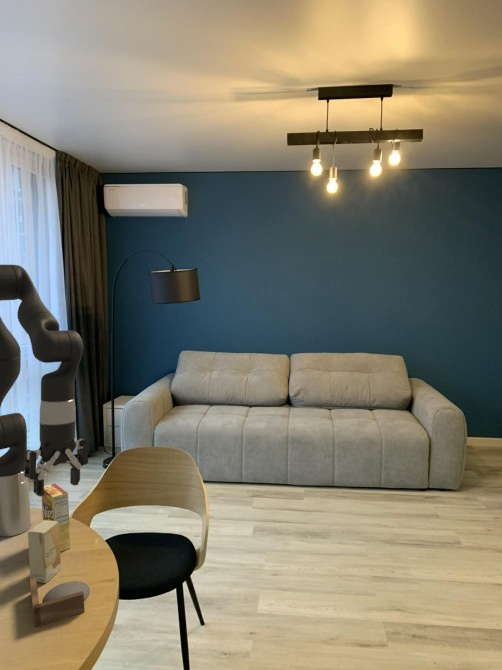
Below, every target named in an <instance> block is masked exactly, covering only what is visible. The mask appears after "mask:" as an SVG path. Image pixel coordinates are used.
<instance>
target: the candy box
mask: <svg viewBox="0 0 502 670" xmlns="http://www.w3.org/2000/svg"><path fill="white" fill-rule="evenodd" d="M41 509H42V510H41V511H42V512H41V513H42V521H43V520H48V521H58V522H59V541H60V553H61V552H63V551H66V550H69V549H71V534H70V533H71V531H70V514H69V513H70V510H69V509H70V508H69V493H68V491H66V490H64V489H63V488H62V487H60V486H59V485H58V484H56V483H51V484H47V485H44V495H43V496H41Z"/></svg>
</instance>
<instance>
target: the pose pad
mask: <svg viewBox="0 0 502 670" xmlns="http://www.w3.org/2000/svg"><path fill="white" fill-rule="evenodd" d="M81 591H83V594H84V601H85V600H87V599H88V597H89V595H90V592H91V590H90V586H89V585H88V584H87V583H86V582H83V581H79V580H78V581H76V580H75V581H74V580H73V581H67V582H63V583H60V584H58V585H56V586H54V587H52V588H51V589H50V590H48V591H47V592H46V593H45V595H44V598H43V602H47V601H50V600H54V599H57V598H60V597H64V596H67V595H71V594H74V593H78V592H81Z"/></svg>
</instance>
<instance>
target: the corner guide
mask: <svg viewBox="0 0 502 670" xmlns="http://www.w3.org/2000/svg"><path fill="white" fill-rule="evenodd" d="M37 583H38V582H36V576H33V577H30V576H29V586H30V597H31V598H30V599H31V600H30V601H31V606H32V608H31V609H32V615H33V624H34V625H33V626H34V628H37V627H41V626H44V625H47V624H50V623H53V622H56V621H59V620H63V619H66V618H69V617H70V618H71V617H73V616H75V615H79V614H82V613H85V600H84V594H83V591H81V592H78V593H74V594H71V595H67V596H64V597H60V598H57V599H54V600H50V601H47V602H44V601H43V602H41V603H40V600H39V591H38V584H37Z"/></svg>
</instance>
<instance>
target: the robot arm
mask: <svg viewBox="0 0 502 670" xmlns="http://www.w3.org/2000/svg"><path fill="white" fill-rule="evenodd" d="M16 300H20V301H21V302H20V304H19V305H18V308H17V320H18V322H19V324H20V325H21V327H22V329H23V330H24V331H25V332H26V334H27V335H28V338H29V341H30V344H31V349H32V354H33V356H34V358H35V359H36V360H38V361H39V362H42V363H43V364H44V363H45V364H48V363H60V364H59V366H58V367H57V369H56V370H54V371H51V372H48V373H45V374H44V375H43V376H42V377H41V380H40V406H39V443H40V444H39V445H40V446H39V448H38V449H35V450H34V449H28V429H27V421H26V420H25V417H24V416H23V415H22V413H20V412H13V413H8V414H7V413H6V414H2V415H0V451H1V450H4V449H8V448H9V449H8V450H7V451H6V452H5V453H3V455H1V456H0V537H12V536H17V535H20V534H22V533H23V534H24V533H25V532H26V531H29V530H30V528H31V527H32V518H31V516H32V515H31V503H30V502H31V501H30V491H29V490H30V488H29V480H33V493H34V494H35V495H36V496H37V497H39V498H40V497H41V498H42V496H43V495H44V486H45V480H44V477H45V476H46V474H47V472H48V471H50V470H51V468H52V467H54V466H55V467H56V466H58V465H60V464H66V463H67V464H68V465H69V466H70V467H69V468H70V470H69V471H70V472H69V473H70V474H69V477H70V481H69V482H70V485H72V486H79V483H80V481H81V469H82V467H83V466H86V465H87V464H88V463H89V455H88V454H89V452H88V451H89V449H88V440H87V439H83V438H81V437H80V438H79V437H78V438H77V439H76V440H75V438H76V418H77V417H76V416H77V415H76V413H77V412H76V409H77V408H76V403H75V392H76V391H75V390H76V389H75V381H76V377H77V374H78V370H79V365H80V362H81V360H82V356H83V353H84V352H83V351H84V342H83V338H82V337H81V335H80V334H79V333H78V332H77V331H76V330H75V331H74V330H60V324H59V322H58V320H57V319H56V317H55V316H54V314H53V313H51V311H50V310H49V309H48V308H47V307H46V305H45V304H44V302H43V301H42V299H41V297H40V295H39V293H38V290H37V288H36V286H35V285H34V282H33V280H32V278H31V276H30V275H29V273H28V272H27V270H26V269H25V268H24V267H23V266H22V265H18V264H0V301H1V302H2V301H16ZM21 353H22V351H21V346H20V344H19V342H18V340H17V339H16V338H15V336H14V335H13V333H11V331H10V330H9V329H8V328H7V326H6V324H5V323H4V321H3V319H2V318H1V316H0V408H1V407H2V404H3V401H4V399H5V398H6V396H7V394H8V393H9V392H10V390H11V389H12V388H13V386H14V384H15V383H16V381H17V380H18V378H19V376H20V373H21V365H22V363H21V359H22V358H21V357H22V356H21V355H22V354H21ZM75 449H76V450H77V451H76V455H77V457H76V456H75V455H74V454H73V452H74V451H75ZM39 456H40V457H41V458H40V459H39ZM37 460H38V462H37Z"/></svg>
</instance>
